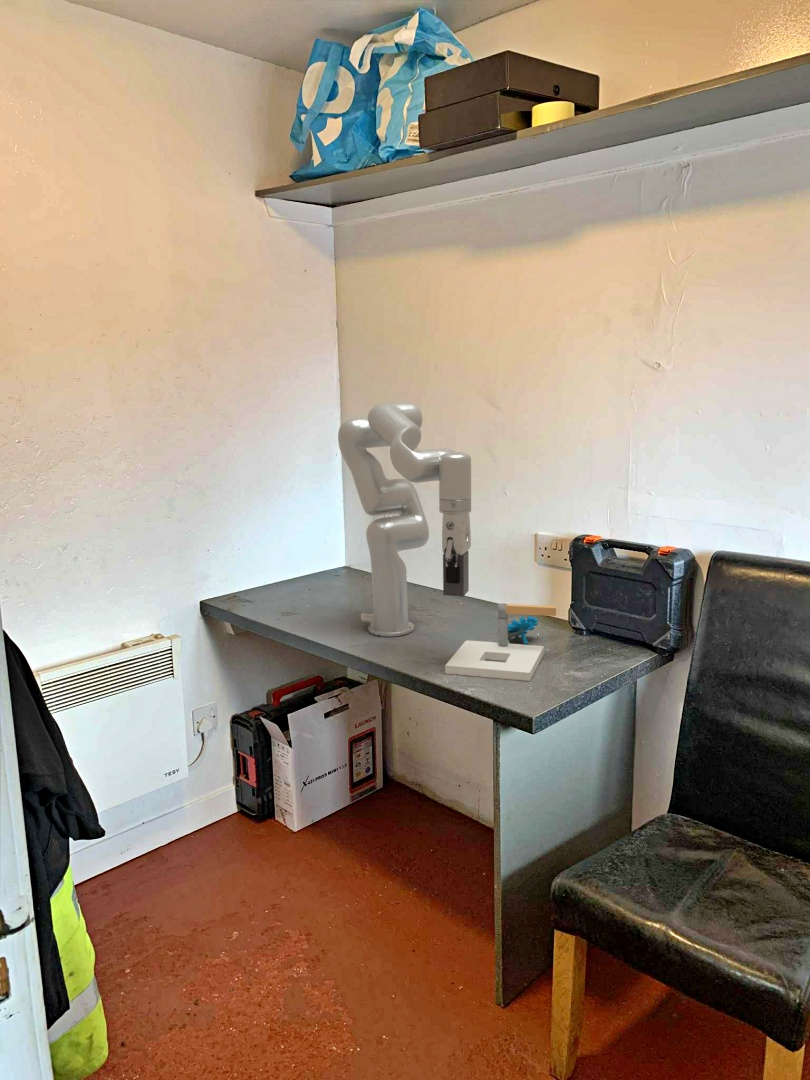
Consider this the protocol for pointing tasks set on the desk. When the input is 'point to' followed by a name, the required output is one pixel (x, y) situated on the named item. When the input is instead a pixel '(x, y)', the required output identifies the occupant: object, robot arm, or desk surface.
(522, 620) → the blue spiky figurine
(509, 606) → the clip
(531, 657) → the socket block
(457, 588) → the plug
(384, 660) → the desk surface
